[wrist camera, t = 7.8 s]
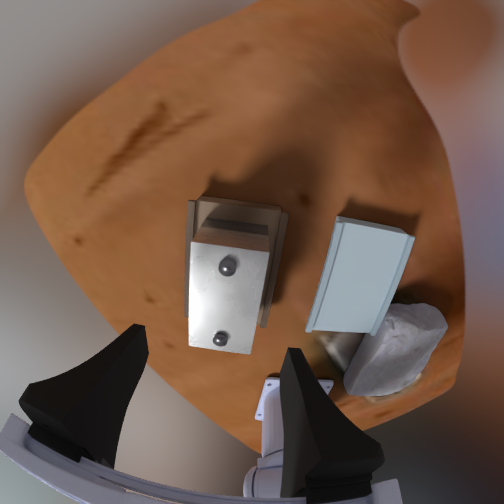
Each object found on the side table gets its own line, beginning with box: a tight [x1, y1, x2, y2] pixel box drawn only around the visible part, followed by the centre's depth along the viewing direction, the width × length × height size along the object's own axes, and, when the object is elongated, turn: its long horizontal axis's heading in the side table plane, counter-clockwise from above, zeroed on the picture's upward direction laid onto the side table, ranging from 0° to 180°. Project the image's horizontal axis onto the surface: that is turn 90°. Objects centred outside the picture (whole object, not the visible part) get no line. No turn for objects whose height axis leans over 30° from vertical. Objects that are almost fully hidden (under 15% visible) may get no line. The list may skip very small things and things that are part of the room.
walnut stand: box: [185, 196, 289, 328], centre depth 21 cm, size 7×10×2 cm
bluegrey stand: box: [305, 216, 415, 336], centre depth 22 cm, size 7×10×2 cm
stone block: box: [343, 303, 448, 396], centre depth 25 cm, size 12×5×10 cm
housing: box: [189, 217, 270, 354], centre depth 19 cm, size 8×4×5 cm, turn 172°
